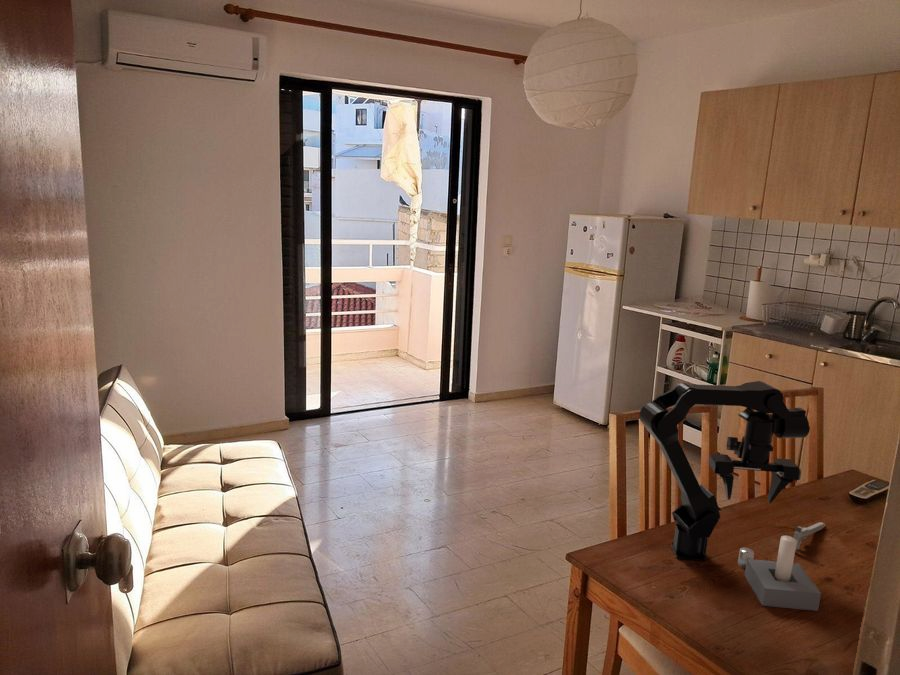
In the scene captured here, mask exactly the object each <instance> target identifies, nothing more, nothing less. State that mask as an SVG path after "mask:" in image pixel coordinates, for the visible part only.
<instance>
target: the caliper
mask: <svg viewBox="0 0 900 675" xmlns="http://www.w3.org/2000/svg"><path fill="white" fill-rule="evenodd" d="M824 527H826V524H825V523H824V522H822V521H821V522H817V523H815V524H814V523H813V525H809V526H808V527H802V526H800V525H798V526H796V528H795V531H794V532H793V538H795V539H796V540H797V543H796V549H795V553H796V552H797V551H799V550H800V548H801V547H800V546H801V543H802V541H805V540H807V537H809V536H810V535H812V534H815V533H817V532H819V531H821V530H823V528H824Z"/></svg>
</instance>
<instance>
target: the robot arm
mask: <svg viewBox="0 0 900 675" xmlns="http://www.w3.org/2000/svg"><path fill="white" fill-rule="evenodd" d="M695 405H702V406H703V405H704V406H707V405H708V406H731V407H733V406H736V407H743V408H745V409H744V410H742V411H741V412H739V413H738V416H739V417H740V418H742V419H743V420H745V421H746V426H745V431H744V436H742V438H741V441H739V439H738V437H735V436H727V440H726V450H727V451H733V454H734V455H736V456H737V458H738V459H740V460H734V459H732V458H731V457H730V456H729V455H728V454H725V453H724V454H721V453H719V454H718V453H711V455H709V457H708V458H709V459H708V465H709V467H710V468H711V470H712V471H713V473H715V474H717V475H718V476H719V477H720V478H721V479H722V483H723V486H724V490H725V491H724V492H725V494H726V499H727V500H728V501H730V500H731V498H732V495H733V494H732V492H733V487H734V479H735V476H734V474H733V473H734V471H735V470H746V471H756V472H757V471H759V472H769V473H770V472H771V481H770V485H769V490H768V494H767V502H768V503H769V504H771V503H772V502H773V501H774V500H776V497H777V496H778V495H780V493H781V492H782V491H783V489H785V488H786V487H787V486H788V485H789V484H793V483H794V481H800V480H801V477H802V471H801V468H800V467H799V466H798V465H797V464H796V462H794V461H793V460H792V459H791V458H790V459H788V458H779V457H778V458H775V459H774V460H773V462H770V457H771V456H770V455H771V453H772V452H773V451H774V447H773V445H772V444H773V438H774V436H775V437H777V438H778V439H803V438H806V437H808V435H809V433H810V429H811V427H810V422H809V419H808V417H807V416H806V414H807V411H806V410H805V409H803V408H802V407H794V408H788V407H787V405H786V404H785V402H784V394H783V393H782V391H781V390H780V389H778V388H776V387H774V386H772V385H770V384H768V383H766V382H765V381H761V380H759V381H758V380H757V381H749V382H744V383H742V384H740V385H720V384H719V385H716V384H715V385H714V384H692V383H687V382H682V383H678V384H677V385H675V387H673V388H672V389H671V390H668V391H666V392H664V393H661V394H660V395H658V396H656V397H655V398H654V399H653V400H652V401H651V402H648V403H645V405H643V406H642V408H641V409H640V412H639V413H638V418H639V421H640V423H642V425H643V426H644V427H645V429H646V430H647V432H648V433H649V434H650V435H651V436H652V437H653V438H654V440H655V441H656V443H657V444H658V446H659V448H660V450H661V451H662V454H663V456H664V458H665V460H666V462H667V464H668V466H669V468H670V470H671V472H672V474H673V476H674V479H675V482H676V483H677V485H678V487H679V489H680V492H681V494H680V500H681V504H680V505H679V506H678V507H677V508H675V510H674V511H672V513H671V515H672V518H673V521H674V522H676V524H675V529H674V537H673V542H670V545H671V548H672V550H673V552H674V555H675V557H676V559H680V560H689V561H691V560H693V561H703V562H705V561H706V556H705V555H706V554H707V549H708V544H709V543H708V541H709V538H710V537H711V535H712V533H713V531H714V530H715V527H716V525H717V524H718V522H719V521H720V520H721V513H720V511H722V508H720V506H719V505H718V502H717V499H716V497H715V495H714V494H713V493H712V492H711V491H709V489H707V488H706V487H705V486H704V485H703V484H699V481H698V479H697V477H696V475H695V473H694V471H693V469H692V467H691V464H690V462H689V461H688V460H689V459H688V458H687V455H686V454H685V451H684V449H683V447H682V445H681V443H680V441H679V435H680V434H679V427H678V425H679V424H680V423H682V422H683V421H684V420H685V418H686V417H687V415H688V413H689V412H690V410H691V409H692V407H694V406H695ZM672 406H673V407H672ZM670 407H672V408H671V409H670V410H668V408H670Z"/></svg>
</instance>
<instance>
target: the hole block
mask: <svg viewBox="0 0 900 675" xmlns="http://www.w3.org/2000/svg"><path fill="white" fill-rule="evenodd" d="M776 563H777V561H774V560H773V561H772V560H760V559H753V560H752V559H747V563H746V568H745V570H744V577H745V579H746V580H747V583H748V584H749V585H750V587H751V588H752V591H753V592H754V594H755V595H756V597H757V599H758V602H759V603H760V604H761V606H763V607H771V608H772V607H774V608H784V609H785V608H786V609H793V610H805V611H816V612H818V611H819V606H820V602H821V597H822V593H821V591H820V590H819V589H818V587H817V586H816V583H814V581H813V580H812V579H811V578H810V576H809V575H808V573H807V572H806V570H805V569H804V568H803V567H802V565H801V564H800V563H798V562H795V563H794V562H793V566H792V572H791V577H790V582H785V581H775V579H774V575H775V569H776Z"/></svg>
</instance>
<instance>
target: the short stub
mask: <svg viewBox="0 0 900 675" xmlns="http://www.w3.org/2000/svg"><path fill="white" fill-rule="evenodd" d="M754 556H755V551H754V550H753V549H751V548H749V547H740V548H739V553H738V560H737V565H738V566H739V567H741V568H743V569H746V563H747V559H752V560H754Z"/></svg>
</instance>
